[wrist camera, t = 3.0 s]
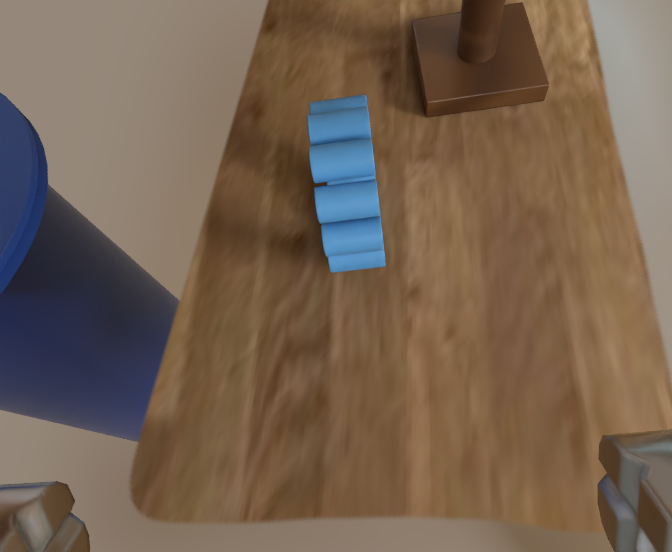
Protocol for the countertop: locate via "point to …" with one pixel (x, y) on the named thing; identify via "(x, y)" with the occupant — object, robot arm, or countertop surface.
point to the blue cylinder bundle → (345, 183)
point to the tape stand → (478, 58)
